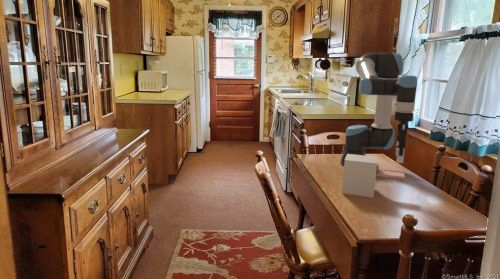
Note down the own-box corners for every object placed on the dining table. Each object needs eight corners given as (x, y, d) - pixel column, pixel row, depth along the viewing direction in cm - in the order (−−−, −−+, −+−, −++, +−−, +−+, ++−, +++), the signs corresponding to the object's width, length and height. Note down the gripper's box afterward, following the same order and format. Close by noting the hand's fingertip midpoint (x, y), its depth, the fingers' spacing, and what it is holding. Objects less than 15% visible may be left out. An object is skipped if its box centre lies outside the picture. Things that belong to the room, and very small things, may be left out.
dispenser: (344, 185, 182) (347, 153, 179) (376, 189, 177) (379, 157, 174) (341, 193, 171) (344, 159, 168) (375, 197, 166) (379, 163, 163)
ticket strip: (349, 168, 177) (349, 166, 176) (403, 175, 169) (404, 173, 169) (348, 172, 171) (348, 170, 171) (404, 179, 163) (404, 176, 163)
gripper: (394, 108, 173) (389, 152, 178) (395, 114, 150) (390, 164, 155) (411, 109, 171) (406, 153, 175) (415, 115, 148) (409, 166, 152)
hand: (399, 159), depth 165 cm, fingers open, 13 cm apart
